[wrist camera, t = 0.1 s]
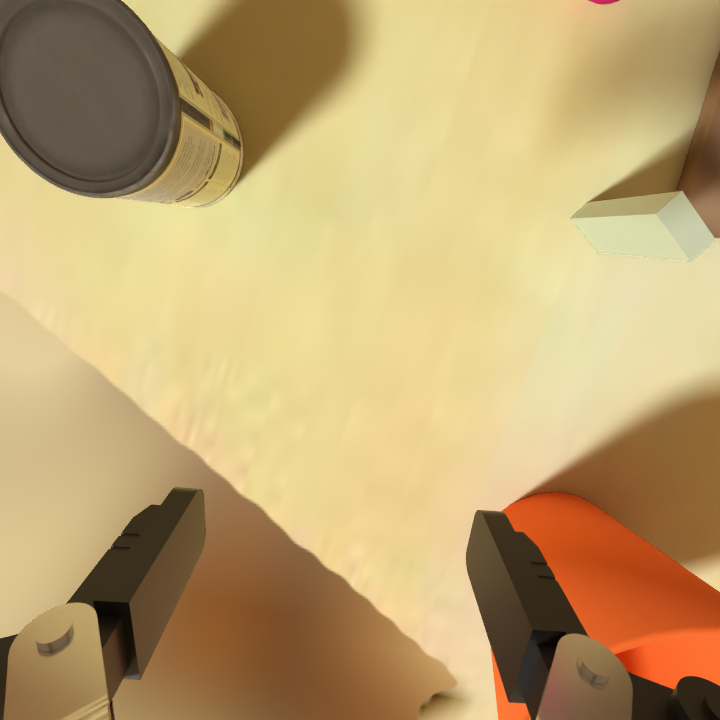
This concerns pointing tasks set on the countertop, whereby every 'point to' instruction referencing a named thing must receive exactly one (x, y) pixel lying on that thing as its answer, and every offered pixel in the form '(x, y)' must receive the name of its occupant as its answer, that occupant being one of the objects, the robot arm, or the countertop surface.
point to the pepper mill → (604, 1)
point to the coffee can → (111, 106)
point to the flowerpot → (621, 593)
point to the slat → (645, 227)
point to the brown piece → (705, 160)
